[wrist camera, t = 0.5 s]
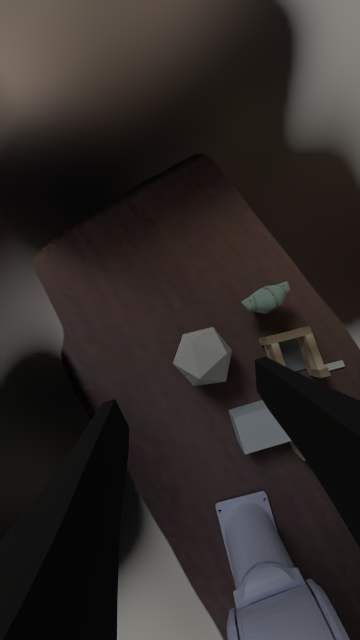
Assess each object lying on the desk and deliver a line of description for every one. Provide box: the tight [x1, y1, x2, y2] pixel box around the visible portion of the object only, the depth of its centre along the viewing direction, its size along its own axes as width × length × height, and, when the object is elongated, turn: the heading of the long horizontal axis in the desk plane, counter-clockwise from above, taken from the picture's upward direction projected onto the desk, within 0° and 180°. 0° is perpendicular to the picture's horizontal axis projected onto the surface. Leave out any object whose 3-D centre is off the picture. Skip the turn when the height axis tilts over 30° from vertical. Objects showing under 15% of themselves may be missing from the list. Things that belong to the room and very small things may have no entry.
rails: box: [324, 360, 345, 371], centre depth 31 cm, size 11×4×1 cm, turn 14°
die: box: [173, 327, 232, 386], centre depth 29 cm, size 8×9×10 cm
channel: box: [259, 326, 331, 461], centre depth 30 cm, size 18×8×3 cm, turn 14°
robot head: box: [241, 281, 290, 313], centre depth 31 cm, size 8×4×7 cm, turn 114°
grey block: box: [228, 400, 291, 454], centre depth 29 cm, size 5×7×4 cm
